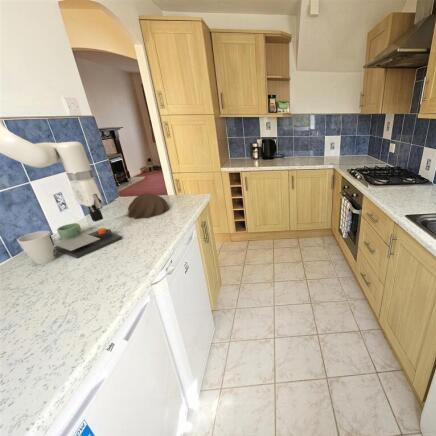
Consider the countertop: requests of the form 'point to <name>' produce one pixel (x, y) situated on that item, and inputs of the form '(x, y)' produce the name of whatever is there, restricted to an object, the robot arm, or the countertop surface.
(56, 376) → the countertop surface
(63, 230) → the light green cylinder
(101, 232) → the tare button
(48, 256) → the cup
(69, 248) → the grey plate
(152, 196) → the decorative dome
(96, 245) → the scale
